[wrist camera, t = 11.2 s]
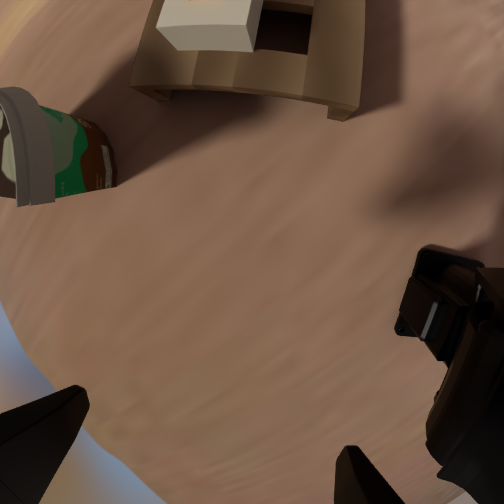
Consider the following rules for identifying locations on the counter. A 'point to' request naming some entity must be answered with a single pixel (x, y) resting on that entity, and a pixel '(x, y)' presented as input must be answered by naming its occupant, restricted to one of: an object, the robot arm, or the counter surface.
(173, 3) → the power strip
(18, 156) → the food container
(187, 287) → the counter surface
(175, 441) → the counter surface
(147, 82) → the keyhole board
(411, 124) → the counter surface
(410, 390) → the counter surface
